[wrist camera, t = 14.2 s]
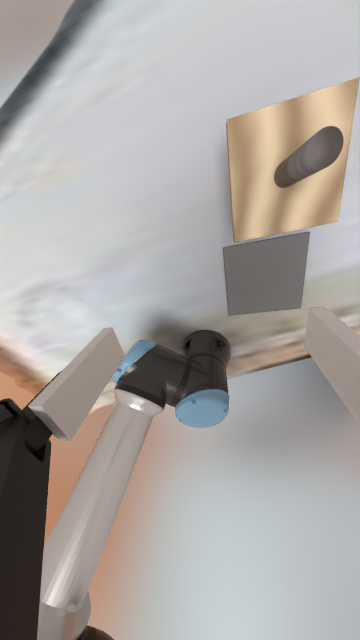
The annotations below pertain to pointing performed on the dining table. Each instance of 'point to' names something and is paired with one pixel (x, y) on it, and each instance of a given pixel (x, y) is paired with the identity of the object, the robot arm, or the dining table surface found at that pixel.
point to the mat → (266, 274)
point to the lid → (290, 162)
